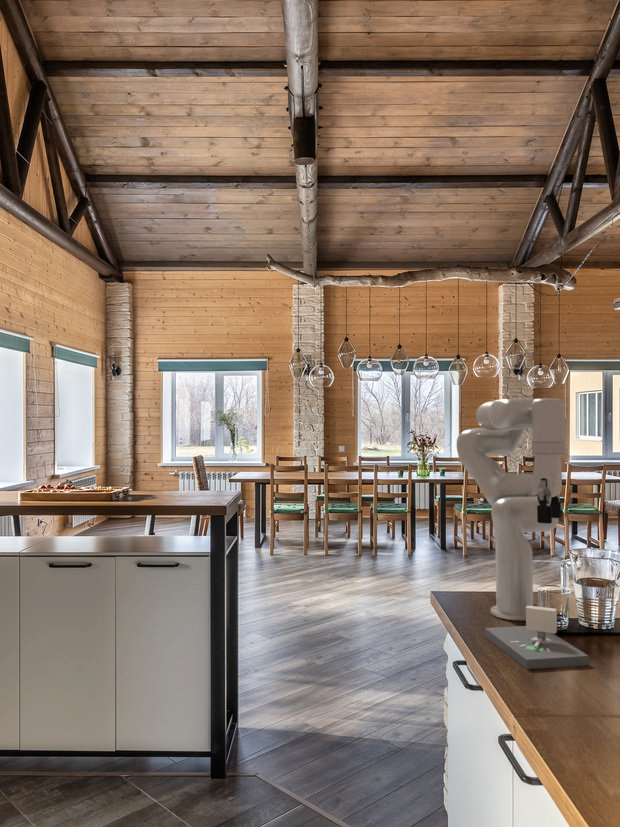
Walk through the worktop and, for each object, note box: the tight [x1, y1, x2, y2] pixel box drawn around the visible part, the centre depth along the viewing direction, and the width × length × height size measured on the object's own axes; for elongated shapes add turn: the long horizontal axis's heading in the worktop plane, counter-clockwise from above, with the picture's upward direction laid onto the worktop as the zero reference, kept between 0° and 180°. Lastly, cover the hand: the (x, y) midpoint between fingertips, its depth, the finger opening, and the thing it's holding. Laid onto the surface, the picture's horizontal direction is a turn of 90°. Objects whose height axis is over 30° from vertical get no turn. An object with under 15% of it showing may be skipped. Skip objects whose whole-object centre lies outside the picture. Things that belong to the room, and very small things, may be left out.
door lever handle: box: [525, 605, 558, 649], centre depth 150 cm, size 6×9×7 cm
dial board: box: [484, 625, 590, 670], centre depth 153 cm, size 22×14×2 cm, turn 8°
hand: (549, 520), depth 161 cm, fingers open, 9 cm apart
